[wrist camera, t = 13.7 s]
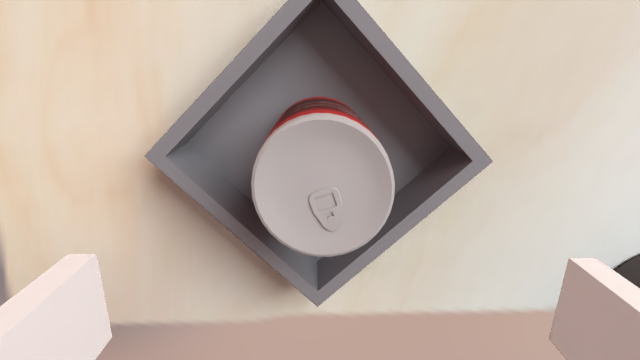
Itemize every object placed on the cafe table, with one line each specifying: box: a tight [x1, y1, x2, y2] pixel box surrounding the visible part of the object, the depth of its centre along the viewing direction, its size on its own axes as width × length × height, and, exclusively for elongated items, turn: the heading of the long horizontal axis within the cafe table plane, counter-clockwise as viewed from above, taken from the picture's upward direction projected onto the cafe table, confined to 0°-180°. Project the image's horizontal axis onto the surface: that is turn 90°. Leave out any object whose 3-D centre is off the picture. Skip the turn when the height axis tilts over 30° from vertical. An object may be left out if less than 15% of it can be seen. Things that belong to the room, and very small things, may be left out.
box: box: [144, 0, 493, 307], centre depth 28 cm, size 17×17×5 cm
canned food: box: [251, 97, 395, 257], centre depth 24 cm, size 8×8×11 cm
